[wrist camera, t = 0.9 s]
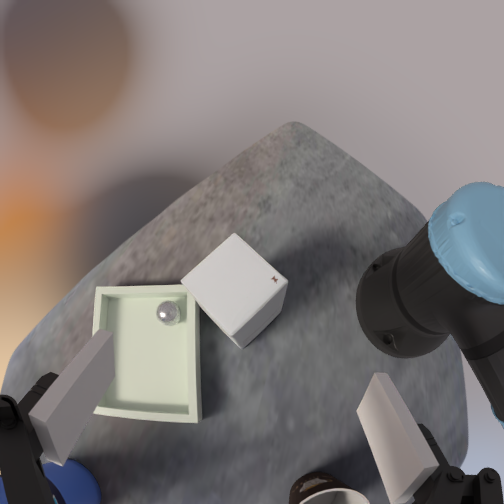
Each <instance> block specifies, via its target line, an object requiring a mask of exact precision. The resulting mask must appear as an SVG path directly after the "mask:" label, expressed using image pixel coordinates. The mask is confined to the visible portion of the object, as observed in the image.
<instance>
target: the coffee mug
mask: <svg viewBox="0 0 504 504" xmlns="http://www.w3.org/2000/svg"><path fill="white" fill-rule="evenodd" d="M289 504H370V503H369V501H368V499H367V498H366V497H365V496H364V495H362V494H361V493H359V492H357V491H356V490H354V489H352V488H351V487H349V486H347V485H346V484H344V483H342V482H341V481H339V480H338V479H336V478H334V477H333V476H331V475H329V474H327V473H323V472H314V473H309V474H306V475H304V476H302V477H301V478H299V479H298V480H297V481H296V482H295V483H294V484H293V486H292V488H291V491H290V497H289Z"/></svg>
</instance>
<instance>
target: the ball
mask: <svg viewBox="0 0 504 504" xmlns="http://www.w3.org/2000/svg"><path fill="white" fill-rule="evenodd" d="M156 317H157V319H158V321H159V322H160V323H161V324H163V325H165V326H173V325H175V324H177V323H178V322H179V320H180V318H181V309H180V307H179V305H178V304H177V303H175V302H173V301H169V300H167V301H163V302H161V303H160V304H159V305H158V307H157V309H156Z"/></svg>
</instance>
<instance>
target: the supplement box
mask: <svg viewBox="0 0 504 504" xmlns="http://www.w3.org/2000/svg"><path fill="white" fill-rule="evenodd" d="M181 283H182V284H183V285H184V287H185V288H186V289H187V290H188V292H189V293H190V294H191V295H192V296H193V297H194V299H195V300H196V301H197V303H198V304H199V305H200V307H201V308H202V309H203V311H204V312H205V313H206V314H207V315H208V316H209V317H210V318H211V319H212V320H213V321H214V322H215V323H216V324H217V325H218V326H219V328H220V329H221V330H222V331H223V332H224V333H225V334H226V335H227V336H228V337H229V338H230V339H231V340H232V341H233V342H234V343H235V344H236V345H238V346H239V347H240V348H241V349H243V348H244V347H245V346H247V345H248V344H249V343H250V342H251V341H252V340H253V339H254V338H255V337H256V336H257V335H258V334H259V333H260V332H261V331H262V330H263V329H264V328H265V327H266V326H267V325H268V324H269V323H270V322H271V321H272V320H273V319H274V318H275V317H276V316H277V315H278V314H279V313H280V312H281V310H282V306H283V302H284V298H285V294H286V290H287V286H288V280H287V279H286V278H285V277H284V276H283V275H281V274H280V273H279V272H278V271H277V270H276V269H275V268H274V267H272V266H271V265H270V264H269V263H268V262H267V261H266V260H264V259H263V258H262V257H261V256H260V255H259V254H258V253H257V252H256V251H254V250H253V249H252V248H251V247H250V246H249V245H248V244H247V243H246V242H245V241H243V240H242V239H241V238H240V237H239V236H238V235H237V234H236V233H233V234H232V235H231V236H230V237H229V238H228V239H226V240H225V241H224V242H223V243H222V244H221V245H220V246H218V247H217V248H216V249H215V250H214V251H213V252H212V253H210V254H209V255H208V256H207V257H206V258H205V259H204V260H203V261H202V262H200V263H199V264H198V265H197V266H196V267H195V268H194V269H193V270H192V271H190V272H189V273H188V274H187V275H186V276H185V277H184V278H183V279H181Z"/></svg>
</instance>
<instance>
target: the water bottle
mask: <svg viewBox="0 0 504 504" xmlns="http://www.w3.org/2000/svg"><path fill="white" fill-rule="evenodd" d="M42 466H43V469H44V473H45V476H46V479H47V482H48V485H49V487H50V490H51V493H52V496H53V498H54V501H55V504H100V502H101V491H100V487H99V485H98V483H97V481H96V479H95V478H94V476H93V475H92V473H91V472H90V471H89V470H88V469H87V468H85V467H84V466H83V465H82V464H80V463H78V462H76V461H74V460H70V459H67V460H66V462H65V464H64V465H63V466H60V465H58V464H56V463H54V462H50V463H46V464H42ZM0 504H8V502H7V498H6V494H5V490H4V485H3V481H2V476H1V475H0Z"/></svg>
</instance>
